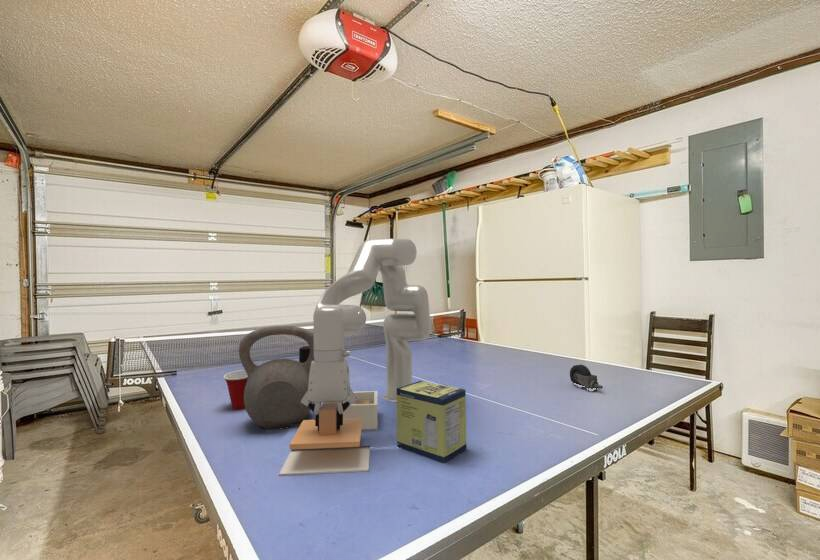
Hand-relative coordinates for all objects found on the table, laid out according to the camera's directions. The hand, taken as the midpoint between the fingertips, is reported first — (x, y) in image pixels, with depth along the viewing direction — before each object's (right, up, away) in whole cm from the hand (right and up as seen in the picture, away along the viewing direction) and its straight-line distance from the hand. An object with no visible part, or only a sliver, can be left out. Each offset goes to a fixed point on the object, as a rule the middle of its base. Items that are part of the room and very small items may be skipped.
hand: (329, 427), depth 98 cm
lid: (0, -2, 0) cm, 2 cm away
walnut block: (+5, -6, +22) cm, 23 cm away
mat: (0, -7, 0) cm, 7 cm away
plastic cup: (-39, -7, +38) cm, 55 cm away
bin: (+3, -7, +20) cm, 22 cm away
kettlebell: (-20, -7, +23) cm, 31 cm away
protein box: (+26, -7, +3) cm, 27 cm away
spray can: (-16, -7, +43) cm, 47 cm away
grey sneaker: (+91, -6, +57) cm, 107 cm away
